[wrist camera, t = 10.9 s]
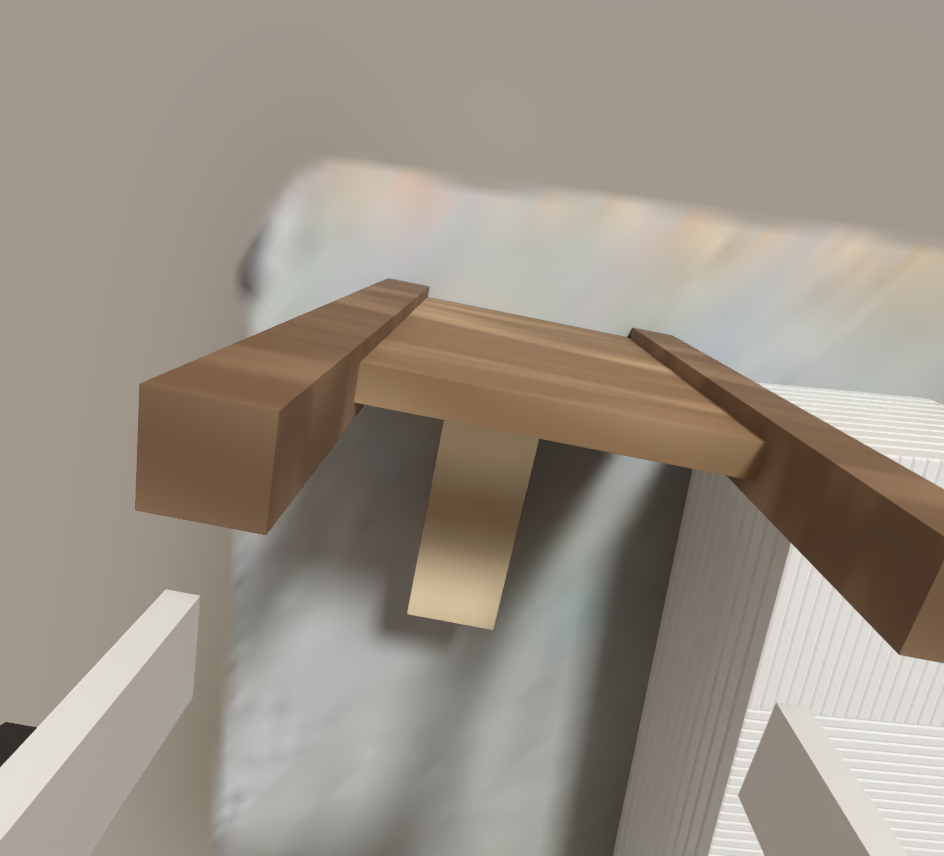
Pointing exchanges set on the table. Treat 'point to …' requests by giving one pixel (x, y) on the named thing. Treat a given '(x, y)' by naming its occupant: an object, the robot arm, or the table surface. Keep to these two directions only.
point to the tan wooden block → (471, 524)
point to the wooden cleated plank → (539, 431)
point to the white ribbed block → (781, 662)
